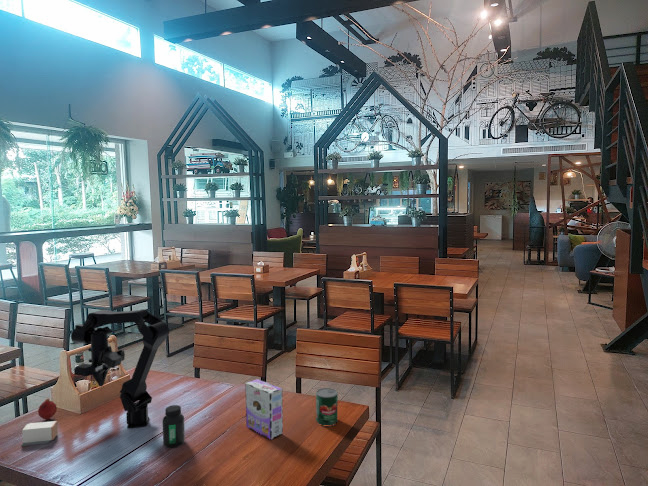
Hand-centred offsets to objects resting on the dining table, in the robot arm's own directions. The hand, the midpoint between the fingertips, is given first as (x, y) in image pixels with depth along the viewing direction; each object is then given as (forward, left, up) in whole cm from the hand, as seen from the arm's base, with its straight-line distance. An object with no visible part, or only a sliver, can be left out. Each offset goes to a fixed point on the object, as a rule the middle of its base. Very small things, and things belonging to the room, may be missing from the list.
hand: (101, 385), depth 168 cm
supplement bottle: (-28, +25, -12) cm, 39 cm away
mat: (+17, +13, -12) cm, 24 cm away
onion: (+19, -2, -12) cm, 23 cm away
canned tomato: (-81, +21, -12) cm, 85 cm away
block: (+12, +13, -9) cm, 20 cm away
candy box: (-58, +23, -12) cm, 64 cm away
